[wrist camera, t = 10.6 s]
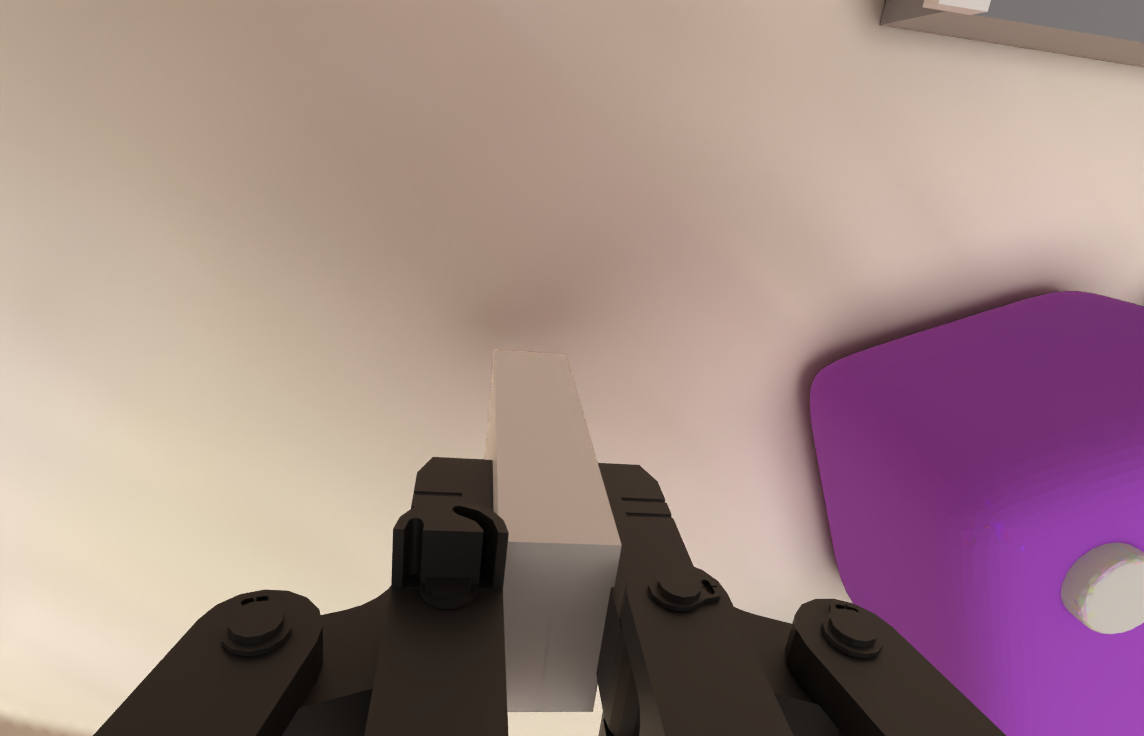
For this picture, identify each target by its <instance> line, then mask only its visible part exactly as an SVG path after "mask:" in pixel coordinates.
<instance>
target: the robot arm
mask: <svg viewBox="0 0 1144 736" xmlns="http://www.w3.org/2000/svg"><path fill="white" fill-rule="evenodd" d="M597 685H598V686H599V691H600V697H601V702H602V708H603V714H602V719H601V725H600V731H599V736H1006V735H1005V734H1004V733H1003V732H1002V731H1001V730H1000V729H999V728H998V727H997V726H996V725H995V724H994V723H993V722H992V721H991V720H990V719H989V718H988V717H987V716H985V715H984V714H983V713H982V712H981V711H980V710H979V709H978V708H977V707H976V706H975V705H974V704H973V703H972V702H971V701H970V700H969V699H968V698H967V697H966V696H964V695H963V694H962V693H961V692H960V691H959V690H958V689H957V688H956V687H955V686H954V685H953V684H952V683H951V682H950V681H949V680H948V679H947V678H946V677H945V676H943V675H942V674H941V673H940V672H939V671H938V670H937V669H936V668H935V667H934V666H933V665H932V664H931V663H930V662H929V661H928V660H927V659H926V658H925V657H924V656H922V655H921V654H920V653H919V652H918V651H917V650H916V649H915V648H914V647H913V646H912V645H911V644H910V643H909V642H908V641H907V640H906V639H905V638H904V637H903V636H901V635H900V634H899V633H898V632H897V631H896V630H895V629H894V628H893V627H892V626H891V625H889V624H888V623H887V622H885V621H884V620H883V619H881V618H880V617H879V616H877V615H876V614H875V613H872V612H870V611H868V610H866V609H864V608H862V607H860V606H858V605H856V604H852V603H848V602H844V601H840V600H836V599H814V600H812V601H809V602H807V603H804V604H802V605H801V607H800V608H799V609H798V611H797V612H796V614H795V616H794V620H793V623H792V624H790V623H786V622H782V621H778V620H774V619H770V618H766V617H762V616H758V615H754V614H751V613H748V612H745V611H742V610H739V609H737V608H735V607H733V604H732V602H731V600H730V598H729V596H728V594H727V593H726V591H725V590H724V589H723V587H722V586H721V585H720V583H719V582H718V581H717V580H716V579H714V578H713V577H711V576H710V575H709V574H707V573H706V572H704V571H703V570H700V569H698V568H695V567H694V566H693V564H692V562H691V559H690V557H689V555H688V552H687V550H686V547H685V545H684V543H683V540H682V538H681V536H680V533H679V531H678V529H677V526H676V524H675V522H674V519H673V518H671V512H670V510H669V508H668V505H667V503H665V498H664V496H663V494H662V491H661V489H660V486H659V484H658V482H657V481H656V480H655V479H654V478H653V477H652V476H651V475H650V474H649V473H647V472H646V471H645V470H644V469H643V468H642V467H641V466H640V465H627V464H607V463H598V462H597V459H596V455H595V452H594V449H593V445H592V442H591V438H590V435H589V431H588V428H587V425H586V421H585V418H584V414H583V411H582V407H581V404H580V400H579V397H578V394H577V390H576V387H575V383H574V380H573V376H572V373H571V369H570V366H569V363H568V359H567V356H566V354H559V353H545V352H531V351H518V350H504V349H494V354H493V366H492V378H491V390H490V402H489V414H488V426H487V438H486V450H485V460H483V459H462V458H442V457H432V458H431V459H430V460H429V461H428V462H427V463H426V464H425V465H424V466H423V467H422V468H421V469H420V470H419V471H418V472H417V477H416V483H415V489H414V495H413V500H412V505H411V510H409V511H408V512H406V513H405V514H403V515H402V516H400V518H399V520H398V521H397V523H396V525H395V527H394V529H393V553H392V585H391V586H390V588H389V589H388V590H386V591H385V592H384V593H383V594H381V595H380V596H379V597H377V598H375V599H373V600H371V601H369V602H367V603H365V604H363V605H361V606H357V607H354V608H351V609H347V610H344V611H339V612H334V613H329V614H325V615H320V611H319V609H318V608H317V607H316V606H315V605H314V604H313V603H312V602H311V601H310V600H309V599H308V598H307V597H304V596H301V595H298V594H295V593H293V592H290V591H281V590H261V591H255V592H250V593H245V594H240V595H238V596H235V597H233V598H231V599H229V600H226V601H224V602H222V603H219V604H217V605H216V606H215V607H213V608H212V609H211V610H210V611H208V612H207V613H206V614H205V615H203V616H202V617H201V618H200V619H198V620H197V621H196V623H195V624H194V625H193V626H192V627H191V628H190V629H189V630H188V631H187V633H186V634H185V635H184V636H183V637H182V638H181V639H180V640H179V641H178V642H177V644H176V645H175V646H174V647H173V648H172V649H171V650H170V651H169V652H168V653H167V655H166V656H165V657H164V658H163V659H162V660H161V661H160V662H159V663H158V665H157V666H156V667H155V668H154V669H153V670H152V671H151V672H150V673H149V674H148V676H147V677H146V678H145V679H144V680H143V681H142V682H141V683H140V684H139V685H138V687H137V688H136V689H135V690H134V691H133V692H132V693H131V694H130V695H129V697H128V698H127V699H126V700H125V701H124V702H123V703H122V704H121V705H120V706H119V708H118V709H117V710H116V711H115V712H114V713H113V714H112V715H111V716H110V717H109V719H108V720H107V721H106V722H105V723H104V724H103V725H102V726H101V727H100V729H99V730H98V731H97V732H96V733H95V734H94V735H93V736H508V716H507V712H593V708H594V702H595V696H596V690H597Z"/></svg>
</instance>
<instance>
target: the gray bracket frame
mask: <svg viewBox="0 0 1144 736" xmlns="http://www.w3.org/2000/svg"><path fill="white" fill-rule="evenodd" d="M880 25H883V26H889V27H896V28H902V29H908V30H914V31H921V32H927V33H933V34H940V35H946V36H952V37H959V38H965V39H971V40H978V41H984V42H990V43H997V44H1003V45H1009V46H1016V47H1022V48H1028V49H1035V50H1041V51H1047V52H1054V53H1060V54H1066V55H1073V56H1079V57H1085V58H1092V59H1098V60H1104V61H1111V62H1117V63H1123V64H1130V65H1136V66H1142V67H1144V0H886V2H885V6H884V10H883V15H882V19H881V23H880Z"/></svg>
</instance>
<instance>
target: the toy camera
mask: <svg viewBox="0 0 1144 736" xmlns="http://www.w3.org/2000/svg"><path fill="white" fill-rule="evenodd" d="M810 414H811V423H812V430H813V436H814V443H815V449H816V454H817V460H818V465H819V471H820V476H821V482H822V488H823V493H824V499H825V504H826V510H827V515H828V521H829V527H830V532H831V538H832V543H833V548H834V553H835V558H836V563H837V567H838V570H839V574H840V577H841V580H842V582H843V585H844V587H845V590H846V592H847V594H848V595H849V597H850V599H851V600H852V602H853V604H856V605H858V606H860V607H862V608H864V609H866V610H868V611H870V612H872V613H875V614H876V615H877V616H879V617H880V618H881V619H883V620H884V621H885V622H887V623H888V624H889V625H891V626H892V627H893V628H894V629H895V630H896V631H897V632H898V633H899V634H900V635H901V636H903V637H904V638H905V639H906V640H907V641H908V642H909V643H910V644H911V645H912V646H913V647H914V648H915V649H916V650H917V651H918V652H919V653H920V654H921V655H922V656H924V657H925V658H926V659H927V660H928V661H929V662H930V663H931V664H932V665H933V666H934V667H935V668H936V669H937V670H938V671H939V672H940V673H941V674H942V675H943V676H945V677H946V678H947V679H948V680H949V681H950V682H951V683H952V684H953V685H954V686H955V687H956V688H957V689H958V690H959V691H960V692H961V693H962V694H963V695H964V696H966V697H967V698H968V699H969V700H970V701H971V702H972V703H973V704H974V705H975V706H976V707H977V708H978V709H979V710H980V711H981V712H982V713H983V714H984V715H985V716H987V717H988V718H989V719H990V720H991V721H992V722H993V723H994V724H995V725H996V726H997V727H998V728H999V729H1000V730H1001V731H1002V732H1003V733H1004V734H1005V735H1006V736H1144V307H1143V306H1139V305H1136V304H1132V303H1129V302H1125V301H1121V300H1117V299H1114V298H1110V297H1106V296H1102V295H1097V294H1093V293H1087V292H1079V291H1063V292H1054V293H1047V294H1043V295H1039V296H1035V297H1031V298H1027V299H1024V300H1021V301H1017V302H1014V303H1011V304H1007V305H1004V306H1001V307H998V308H994V309H991V310H988V311H985V312H981V313H978V314H975V315H972V316H969V317H965V318H962V319H959V320H956V321H953V322H949V323H946V324H943V325H940V326H937V327H933V328H930V329H927V330H924V331H921V332H917V333H914V334H911V335H908V336H905V337H902V338H899V339H896V340H892V341H889V342H886V343H883V344H880V345H877V346H874V347H871V348H868V349H865V350H862V351H859V352H856V353H854V354H851V355H849V356H846V357H844V358H841V359H839V360H837V361H835V362H833V363H831V364H829V365H827V366H826V367H825V368H823V369H822V370H821V371H819V372H818V374H817V375H816V376H815V378H814V380H813V383H812V386H811V390H810Z"/></svg>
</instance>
